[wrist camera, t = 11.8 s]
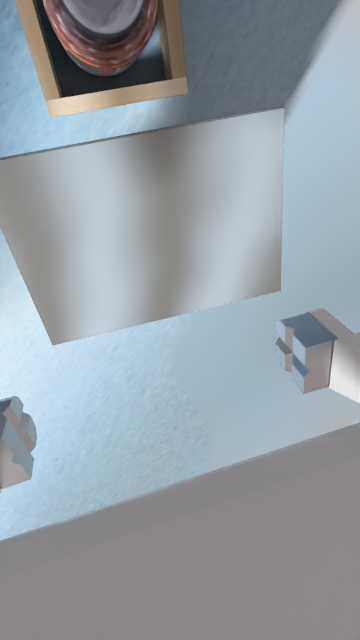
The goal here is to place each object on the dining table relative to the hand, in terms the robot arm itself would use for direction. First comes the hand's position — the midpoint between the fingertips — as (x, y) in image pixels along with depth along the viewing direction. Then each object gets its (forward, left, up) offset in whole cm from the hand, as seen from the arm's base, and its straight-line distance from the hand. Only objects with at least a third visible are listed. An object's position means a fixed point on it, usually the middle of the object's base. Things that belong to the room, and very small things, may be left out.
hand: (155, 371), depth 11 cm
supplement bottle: (+2, +12, -24) cm, 27 cm away
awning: (+1, +1, -24) cm, 24 cm away
